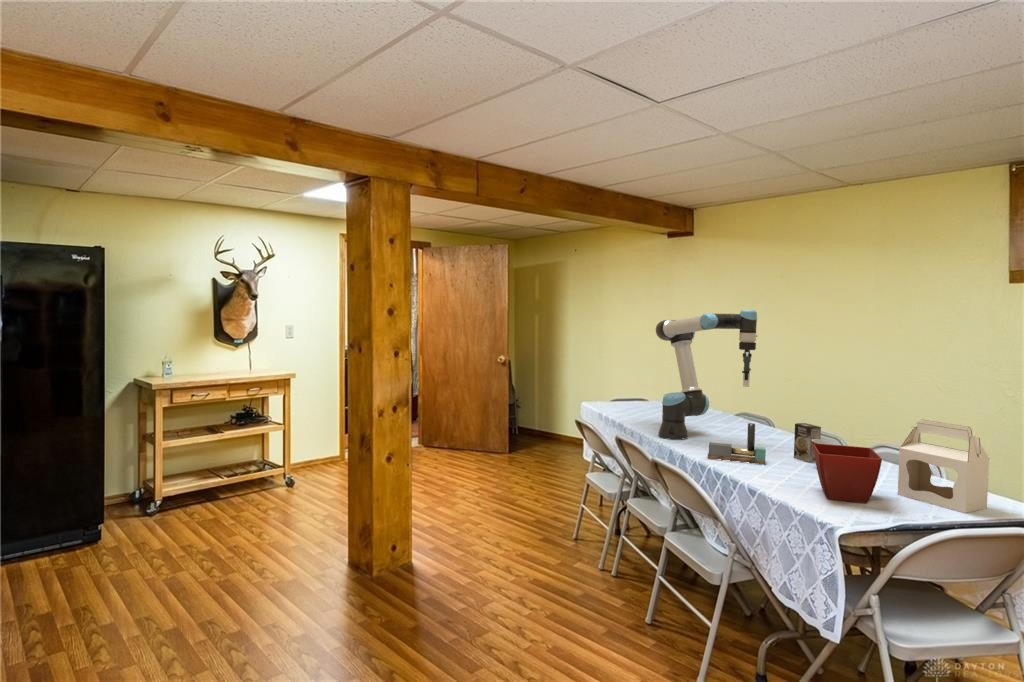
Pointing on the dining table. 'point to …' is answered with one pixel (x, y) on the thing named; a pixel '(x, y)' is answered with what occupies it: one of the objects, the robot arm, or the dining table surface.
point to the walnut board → (737, 458)
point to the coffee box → (805, 441)
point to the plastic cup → (823, 442)
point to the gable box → (967, 464)
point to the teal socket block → (760, 453)
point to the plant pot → (847, 471)
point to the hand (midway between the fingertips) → (746, 385)
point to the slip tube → (750, 443)
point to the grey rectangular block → (720, 449)
